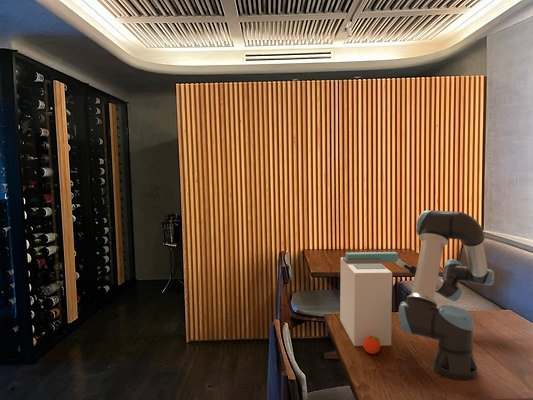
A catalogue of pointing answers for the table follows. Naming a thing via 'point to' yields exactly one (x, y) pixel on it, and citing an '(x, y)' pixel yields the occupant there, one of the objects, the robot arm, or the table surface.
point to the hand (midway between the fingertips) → (392, 258)
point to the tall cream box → (366, 300)
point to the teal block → (373, 256)
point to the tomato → (371, 344)
